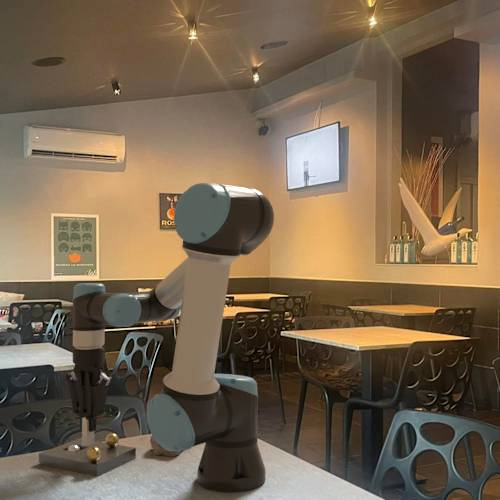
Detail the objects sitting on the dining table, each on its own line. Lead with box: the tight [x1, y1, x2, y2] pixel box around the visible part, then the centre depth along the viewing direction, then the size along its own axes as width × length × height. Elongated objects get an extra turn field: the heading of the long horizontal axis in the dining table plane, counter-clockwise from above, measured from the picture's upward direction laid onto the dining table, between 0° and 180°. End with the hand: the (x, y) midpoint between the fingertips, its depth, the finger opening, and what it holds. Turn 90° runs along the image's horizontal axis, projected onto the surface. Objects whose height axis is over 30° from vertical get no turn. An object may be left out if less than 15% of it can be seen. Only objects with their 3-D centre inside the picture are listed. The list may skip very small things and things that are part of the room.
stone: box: [149, 434, 183, 457], centre depth 158 cm, size 13×6×10 cm
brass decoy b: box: [104, 432, 120, 447], centre depth 152 cm, size 3×3×3 cm
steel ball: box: [67, 445, 80, 452], centre depth 150 cm, size 3×3×3 cm
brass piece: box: [87, 447, 101, 462], centre depth 141 cm, size 3×3×3 cm
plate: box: [38, 437, 137, 477], centre depth 148 cm, size 18×14×2 cm
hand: (88, 443), depth 148 cm, fingers closed
